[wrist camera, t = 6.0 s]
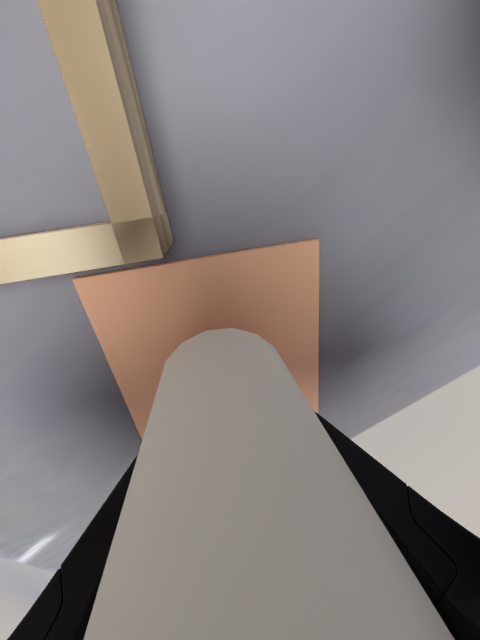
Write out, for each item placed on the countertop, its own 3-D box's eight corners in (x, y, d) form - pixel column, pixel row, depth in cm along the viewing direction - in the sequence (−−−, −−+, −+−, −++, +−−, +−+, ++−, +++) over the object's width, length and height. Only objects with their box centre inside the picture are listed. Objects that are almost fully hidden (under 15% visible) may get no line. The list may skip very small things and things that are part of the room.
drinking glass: (123, 344, 10) (-436, 1384, 1) (280, 299, 10) (805, 927, 1) (180, 449, 13) (138, 979, 4) (301, 412, 13) (513, 848, 4)
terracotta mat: (315, 238, 12) (319, 239, 12) (315, 409, 17) (318, 414, 16) (75, 277, 11) (71, 279, 11) (148, 445, 16) (146, 451, 16)
